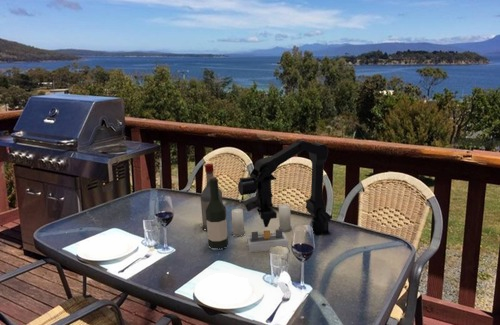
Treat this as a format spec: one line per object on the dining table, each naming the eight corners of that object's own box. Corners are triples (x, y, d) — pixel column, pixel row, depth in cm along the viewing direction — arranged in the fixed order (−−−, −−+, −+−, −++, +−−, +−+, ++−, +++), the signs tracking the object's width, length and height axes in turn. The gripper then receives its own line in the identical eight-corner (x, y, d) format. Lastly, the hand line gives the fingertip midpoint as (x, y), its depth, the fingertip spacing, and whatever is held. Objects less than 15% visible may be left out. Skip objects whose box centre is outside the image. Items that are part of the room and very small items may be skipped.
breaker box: (284, 238, 180) (283, 231, 179) (288, 248, 171) (288, 240, 170) (246, 242, 178) (246, 235, 177) (249, 252, 169) (249, 244, 169)
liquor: (222, 231, 191) (218, 167, 183) (202, 231, 191) (197, 168, 183) (224, 223, 200) (220, 161, 192) (205, 223, 200) (200, 162, 192)
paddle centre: (269, 236, 175) (269, 230, 174) (270, 238, 173) (270, 231, 173) (263, 237, 174) (263, 230, 174) (264, 239, 173) (264, 232, 172)
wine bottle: (204, 248, 175) (198, 179, 167) (215, 240, 182) (210, 173, 174) (221, 252, 171) (216, 181, 163) (232, 243, 178) (227, 175, 170)
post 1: (244, 230, 190) (243, 207, 187) (245, 236, 184) (244, 212, 182) (231, 232, 189) (230, 209, 187) (232, 237, 184) (231, 213, 181)
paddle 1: (257, 238, 174) (257, 231, 173) (258, 239, 173) (258, 232, 172) (251, 238, 174) (251, 232, 173) (252, 240, 172) (251, 233, 172)
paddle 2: (281, 235, 175) (281, 229, 174) (282, 237, 174) (282, 230, 173) (275, 236, 175) (275, 229, 174) (276, 237, 174) (276, 231, 173)
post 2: (290, 226, 192) (289, 203, 190) (292, 231, 187) (292, 208, 184) (277, 227, 192) (276, 204, 189) (280, 232, 186) (279, 209, 183)
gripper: (241, 185, 179) (243, 220, 183) (247, 200, 161) (249, 238, 165) (267, 183, 180) (269, 217, 184) (276, 198, 162) (277, 235, 166)
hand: (265, 226), depth 175 cm, fingers closed
